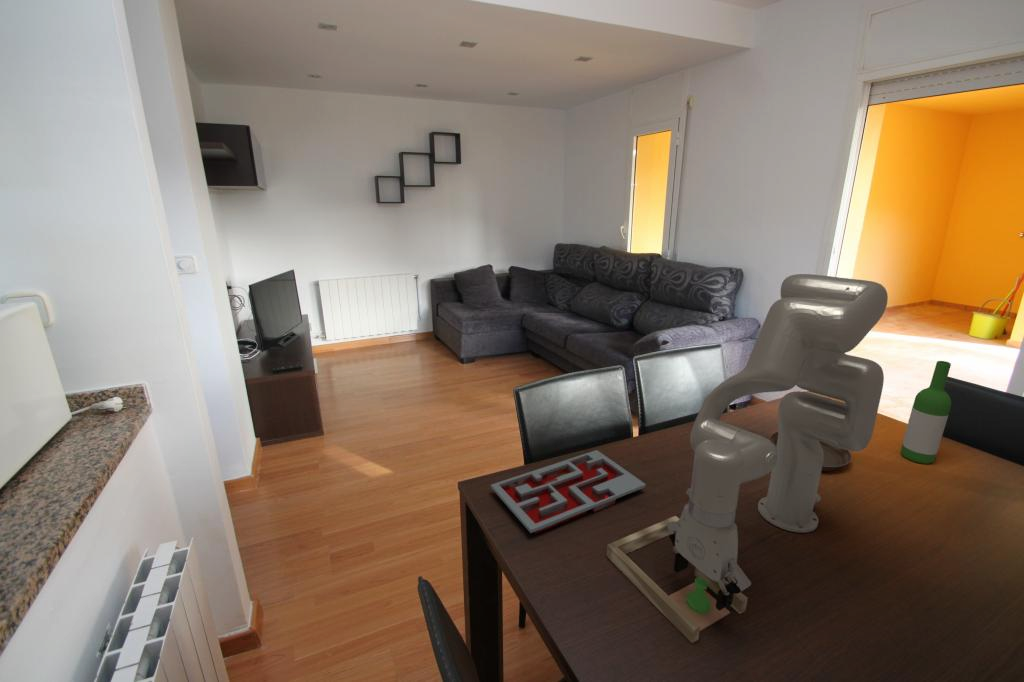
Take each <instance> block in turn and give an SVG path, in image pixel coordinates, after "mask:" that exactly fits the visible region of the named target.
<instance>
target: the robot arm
mask: <svg viewBox="0 0 1024 682" xmlns="http://www.w3.org/2000/svg"><path fill="white" fill-rule="evenodd" d="M888 299H889V296H888V292H887V290H886V287H885V286H884V285H882V284H881V283H879V282H876V281H871V280H865V279H856V278H845V277H837V276H831V275H823V274H821V275H820V274H810V273H808V274H807V273H799V274H797V273H796V274H792V275H789V276H786V277H785V278H784V280H783V281H782V283H781V286H780V298H779V299H777V300H776V301H774V303H772V304H771V306H770V307H769V310H768V312H767V314H766V316H765V318H764V321H763V324H762V327H761V328H760V331H759V334H758V336H757V338H756V340H755V343H754V345H753V348H752V350H751V353H750V355H749V357H748V360H747V363H746V365H745V367H744V368H743V369H742V370H741V371H740V372H738V373H736V374H734V375H731V377H728V378H727V379H726V380H724V381H722V382H721V383H720V384H718V385H717V386H715V388H714V389H713V390H712V391H710V393H709V394H708V395H707V396H706V397H705V399H704V400H703V403H702V405H701V407H700V410H699V412H698V413H697V416H696V418H695V421H694V423H693V426H692V429H691V432H690V437H689V438H690V439H689V441H690V447H691V448H692V450H693V451H694V458H693V467H692V468H693V469H692V475H691V483H690V484H691V485H690V487H688V488H687V489H686V491H685V494H686V495H688V499H689V500H688V503H686V504H685V505H684V507H683V509H682V512H681V514H680V516H679V519H680V520H679V522H674V521H672V522H670V523H668V524H667V526H668V529H669V533H670V535H669V538H670V541H671V543H672V546H673V547H672V551H673V552H674V553H675V554H674V561H673V562H674V563H673V571H674V572H675V573H680V572H682V571H683V570H686V569H687V568H688V567H689V563H690V564H691V565H692V566H693V567H694V568H695V567H696V568H697V569H699V570H700V571H701V572H702V573H703V574H705V575H706V576H707V577H708V578H710V579H711V580H713V581H715V582H718V583H719V586H720V588H721V589H720V590H719V591H718V595H717V594H716V595H717V597H716V600H717V602H716V608H717V609H718V610H719V611H720V610H722V609H723V608H726V609H727V608H729V607H731V604H732V601H733V595H734V594H738V593H740V592H741V593H742V592H743V591H744V590H746V589H748V588H749V587H750V586H751V585H752V581H751V580H750V579H749V578H748V576H747V574H746V573H745V572H744V571H743V569H742V568H741V567H740V566H739V564H738V563H737V562H738V555H739V554H738V551H739V550H738V549H739V536H738V535H739V534H738V525H737V524H736V523H735V521H736V513H737V508H738V502H739V494H740V487H741V484H743V483H747V482H751V481H753V480H757V479H760V478H762V477H764V476H766V475H767V474H769V473H770V477H769V478H770V479H769V484H768V489H767V495H766V496H764V497H762V498H761V499H760V500H759V501H758V504H757V510H758V512H759V514H760V516H762V518H764V520H766V521H767V522H769V523H770V524H772V525H774V526H775V527H778V528H780V529H782V530H784V531H788V532H794V533H802V534H803V533H811V532H813V531H815V530H816V529H817V528H818V524H819V518H818V515H817V514H816V512H815V511H814V506H815V504H816V503H818V502H820V501H821V499H822V498H821V495H820V494H819V493H818V488H819V484H820V479H821V476H822V472H823V471H822V467H823V462H824V453H823V449H822V446H821V444H820V442H819V441H821V442H824V443H827V444H830V445H833V446H836V447H839V448H842V449H845V450H848V451H849V452H861V451H863V450H864V449H866V448H867V447H868V446H869V444H870V441H871V440H872V437H873V433H874V429H875V426H876V420H877V416H878V411H879V407H880V402H881V397H882V393H883V388H884V383H885V380H884V379H885V378H884V377H885V376H884V375H885V374H884V371H883V368H882V366H881V365H880V364H879V363H878V362H876V361H874V360H872V359H869V358H864V357H861V356H856V355H851V354H847V353H849V352H851V351H852V350H854V349H855V348H856V347H857V346H858V345H859V344H860V343H861V342H862V341H863V340H864V339H865V338H866V336H867V335H868V334H869V333H870V332H871V330H872V329H874V327H875V326H876V325H877V324H878V322H879V321H880V320H881V318H882V316H883V315H884V313H885V311H886V309H887V305H888ZM795 386H796V387H797V388H800V389H801V390H804V391H799V390H797V391H792V392H791V391H790V392H788V393H786V394H785V395H783V397H781V400H780V402H779V404H778V410H777V412H778V413H777V414H778V415H777V416H778V417H777V419H778V421H777V422H778V427H777V428H778V430H777V432H778V440H777V446H775V445H774V444H773V443H772V442H771V441H770V440H769V439H768V438H766V437H765V436H762V435H760V434H756V433H754V432H751V431H748V430H746V429H744V428H741V427H737V426H736V425H732V424H729V423H728V422H725V421H722V420H720V419H721V418H722V414H724V411H725V410H726V409H727V408H728V406H730V404H731V403H733V402H734V401H736V400H738V399H740V398H742V397H745V396H749V395H755V394H763V393H775V392H786V391H789V390H792V389H793V388H795ZM805 391H806V392H805ZM724 579H725V580H726V579H727V582H729V583H728V584H726V582H725V580H724Z"/></svg>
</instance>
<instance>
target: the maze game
mask: <svg viewBox="0 0 1024 682" xmlns="http://www.w3.org/2000/svg"><path fill="white" fill-rule="evenodd" d="M646 486H647V484H646V483H645V482H643V481H642V480H641V479H639V478H638V477H636V476H635V475H634V474H632V473H630V472H629V471H628V470H626V469H625V468H623V467H622V466H621V465H619V464H617V463H616V462H615V461H613V460H612V459H610V458H609V457H608V456H606V455H605V454H603V453H602V452H601V451H599V450H597V449H596V450H593V451H590V452H587V453H584V454H583V453H582V454H580V455H577V456H574V457H571V458H568V459H565V460H561V461H558V462H555V463H553V464H550V465H545V466H543V467H541V468H537V469H535V470H532V471H528V472H525V473H522V474H520V475H517V476H513V477H509V478H507V479H504V480H501V481H498V482H495V483H491V484H490V488H491V489H492V490H493V491H494V493H495V494H496V495H497V497H499V499H500V500H501V501H502V503H504V505H506V506H507V508H508V509H509V510H510V512H512V513H513V515H514V516H515V517H516V518H517V519H518V520H519V521H520V523H521V524H522V525H523V526H524V527H525V528H526V529H527V531H528V532H529V533H530V534H532V533H533V534H534V535H537V534H538V533H542V532H544V531H546V530H549V529H551V528H553V526H554V527H556V526H558V524H559V525H561V524H563V523H565V521H566V522H568V521H570V520H569V519H571V520H573V519H575V517H576V518H578V517H581V516H583V515H585V514H587V511H589V510H591V511H592V512H593V513H597V512H599V511H601V509H602V510H603V508H604V509H606V508H608V507H607V506H609V507H611V506H613V504H614V505H615V504H616V500H617V499H619V498H621V497H624V496H626V495H630V494H632V493H635V492H637V491H639V490H641V489H644V488H646ZM610 505H611V506H610ZM605 507H606V508H605ZM598 510H599V511H598ZM596 511H597V512H596ZM584 513H585V514H584ZM582 514H583V515H582ZM580 515H581V516H580ZM577 516H578V517H577ZM572 518H573V519H572ZM560 523H561V524H560Z"/></svg>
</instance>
